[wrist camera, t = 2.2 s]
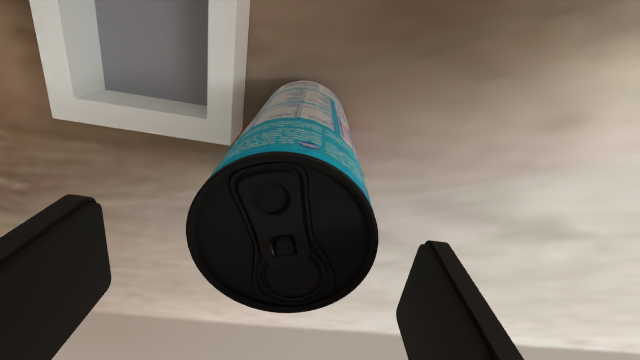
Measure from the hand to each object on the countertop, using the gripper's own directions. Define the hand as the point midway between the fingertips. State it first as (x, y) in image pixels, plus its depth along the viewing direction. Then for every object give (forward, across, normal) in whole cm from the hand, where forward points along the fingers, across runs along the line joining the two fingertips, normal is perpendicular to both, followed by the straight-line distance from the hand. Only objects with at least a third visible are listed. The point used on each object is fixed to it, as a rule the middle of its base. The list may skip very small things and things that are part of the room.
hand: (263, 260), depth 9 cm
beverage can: (+16, -1, -1) cm, 16 cm away
